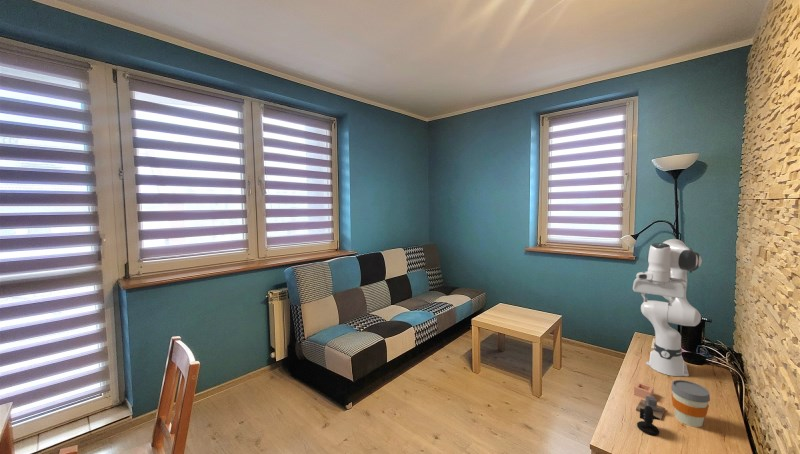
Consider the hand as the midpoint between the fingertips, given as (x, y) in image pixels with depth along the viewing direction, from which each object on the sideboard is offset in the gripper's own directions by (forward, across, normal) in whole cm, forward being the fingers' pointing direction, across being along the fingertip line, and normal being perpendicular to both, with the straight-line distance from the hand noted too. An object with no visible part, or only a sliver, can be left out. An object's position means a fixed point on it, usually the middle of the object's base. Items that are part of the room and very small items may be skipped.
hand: (657, 303), depth 156 cm
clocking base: (+46, -1, +19) cm, 50 cm away
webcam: (+46, -1, +35) cm, 58 cm away
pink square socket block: (+46, +3, +6) cm, 46 cm away
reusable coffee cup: (+46, -14, +16) cm, 51 cm away
